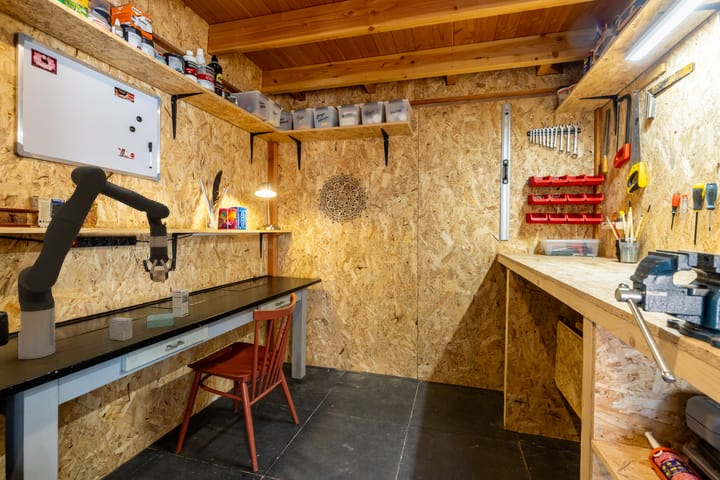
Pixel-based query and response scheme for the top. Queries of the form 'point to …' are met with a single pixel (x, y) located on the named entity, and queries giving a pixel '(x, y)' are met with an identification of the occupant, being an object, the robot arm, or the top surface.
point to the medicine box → (120, 328)
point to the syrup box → (180, 302)
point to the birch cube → (159, 276)
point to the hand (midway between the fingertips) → (159, 280)
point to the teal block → (160, 320)
